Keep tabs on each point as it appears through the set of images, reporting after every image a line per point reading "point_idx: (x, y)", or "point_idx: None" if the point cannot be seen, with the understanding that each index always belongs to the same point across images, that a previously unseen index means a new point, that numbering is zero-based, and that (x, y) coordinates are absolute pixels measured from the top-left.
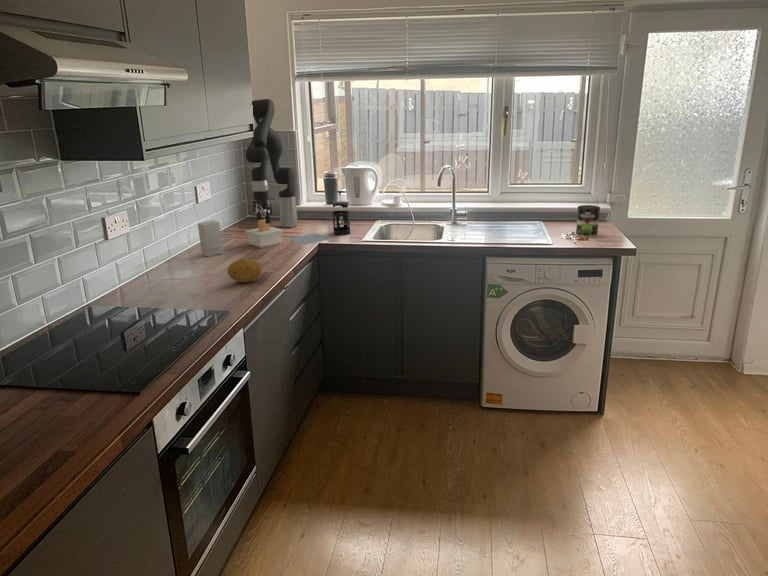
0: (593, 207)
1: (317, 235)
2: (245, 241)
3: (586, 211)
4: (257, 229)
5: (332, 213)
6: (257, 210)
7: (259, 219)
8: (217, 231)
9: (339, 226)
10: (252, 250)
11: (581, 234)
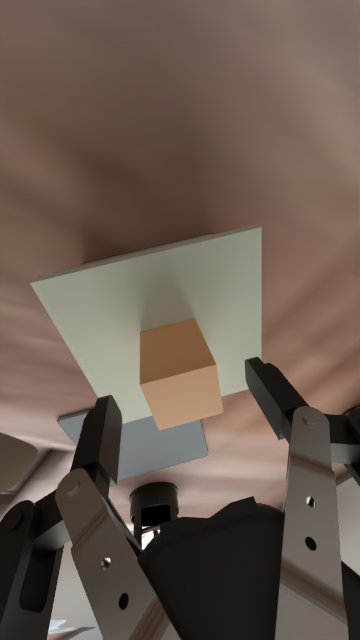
0: None
1: (173, 459)
2: (295, 239)
3: None
4: (230, 317)
5: None
6: (288, 471)
7: (253, 381)
8: None
9: (134, 527)
10: (53, 202)
11: None
